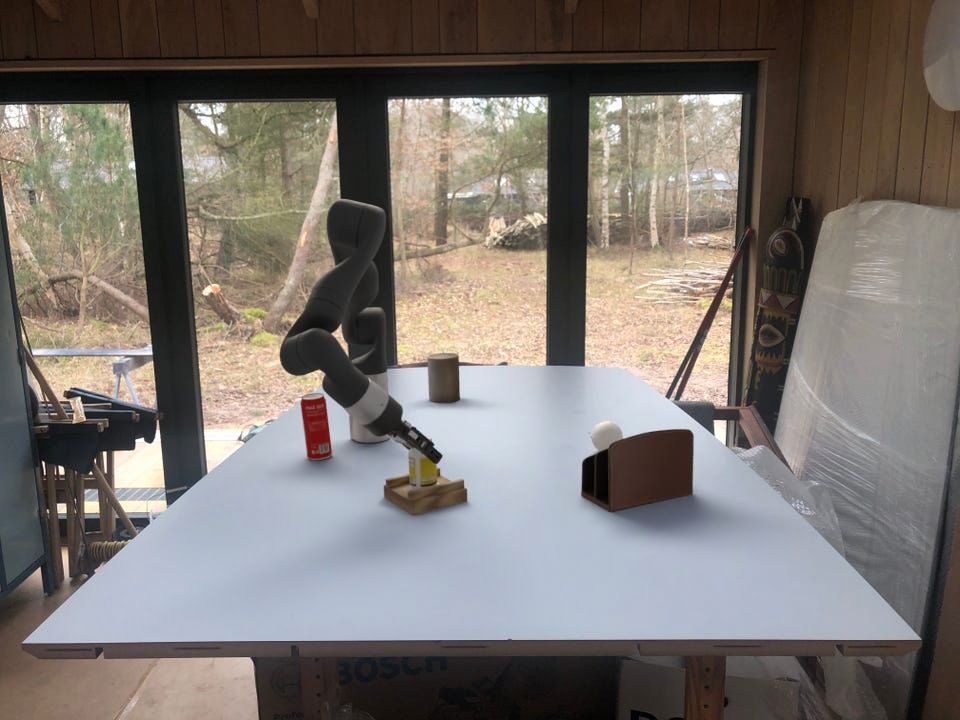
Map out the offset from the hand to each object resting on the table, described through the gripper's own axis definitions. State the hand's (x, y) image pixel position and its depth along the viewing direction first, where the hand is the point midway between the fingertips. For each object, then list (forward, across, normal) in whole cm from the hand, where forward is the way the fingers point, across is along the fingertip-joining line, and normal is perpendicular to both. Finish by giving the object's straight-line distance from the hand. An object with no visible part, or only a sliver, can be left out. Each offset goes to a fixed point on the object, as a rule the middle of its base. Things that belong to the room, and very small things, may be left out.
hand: (427, 454), depth 149 cm
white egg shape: (+40, +2, -27) cm, 49 cm away
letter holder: (+30, -24, -17) cm, 42 cm away
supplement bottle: (+4, 0, +5) cm, 7 cm away
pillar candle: (+39, +70, -27) cm, 85 cm away
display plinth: (+6, 0, +7) cm, 9 cm away
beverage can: (+1, +39, +12) cm, 41 cm away
